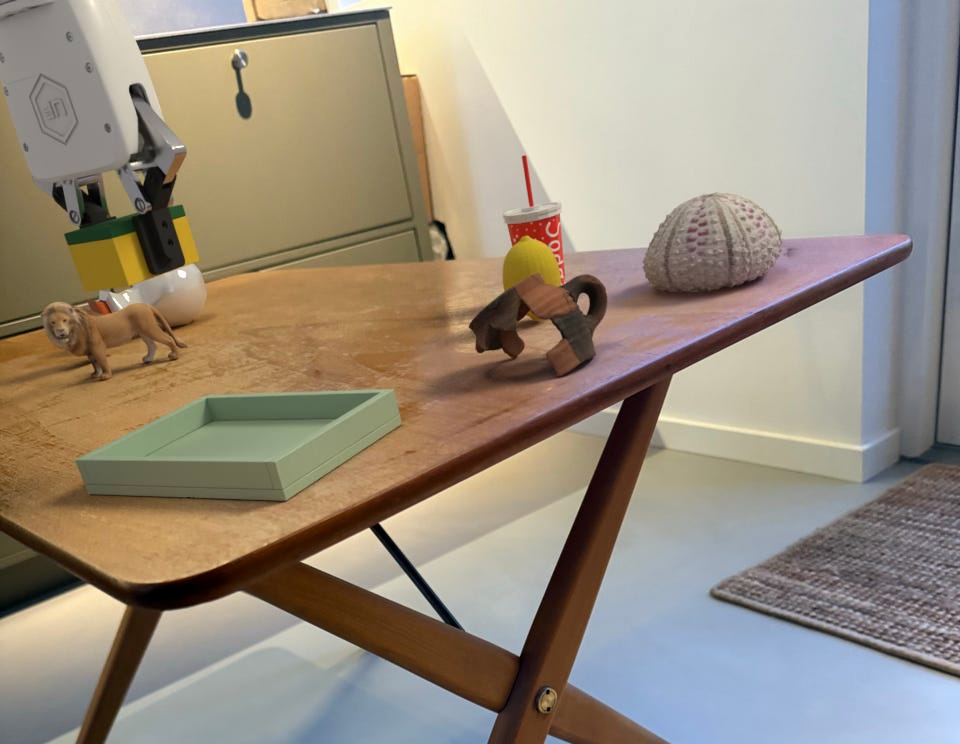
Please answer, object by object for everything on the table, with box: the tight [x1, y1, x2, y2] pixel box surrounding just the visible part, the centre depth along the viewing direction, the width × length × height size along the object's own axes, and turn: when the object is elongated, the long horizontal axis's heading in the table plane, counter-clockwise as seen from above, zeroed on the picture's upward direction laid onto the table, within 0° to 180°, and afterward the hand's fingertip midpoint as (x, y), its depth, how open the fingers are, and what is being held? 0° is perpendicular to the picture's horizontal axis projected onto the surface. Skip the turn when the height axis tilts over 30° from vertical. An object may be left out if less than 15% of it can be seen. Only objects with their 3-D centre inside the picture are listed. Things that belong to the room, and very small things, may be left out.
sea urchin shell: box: [642, 191, 785, 293], centre depth 100 cm, size 13×14×8 cm
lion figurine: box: [40, 301, 189, 381], centre depth 116 cm, size 15×5×9 cm, turn 126°
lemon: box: [502, 236, 561, 323], centre depth 99 cm, size 6×6×8 cm
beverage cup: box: [502, 154, 567, 286], centre depth 107 cm, size 6×6×14 cm
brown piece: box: [468, 273, 609, 378], centre depth 86 cm, size 12×10×8 cm
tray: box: [74, 388, 403, 502], centre depth 78 cm, size 20×15×3 cm
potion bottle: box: [86, 263, 209, 329], centre depth 136 cm, size 9×10×15 cm
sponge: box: [63, 204, 201, 293], centre depth 74 cm, size 5×8×4 cm, turn 152°
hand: (141, 271), depth 75 cm, fingers closed on sponge, 4 cm apart
